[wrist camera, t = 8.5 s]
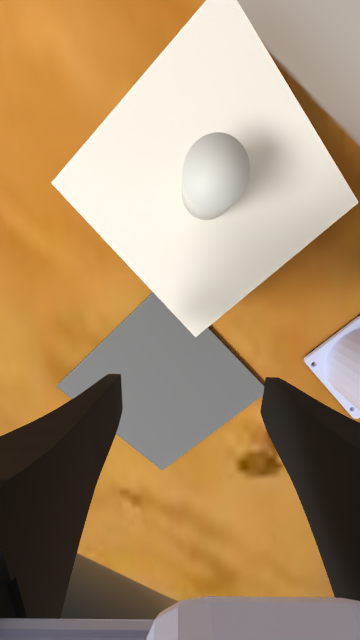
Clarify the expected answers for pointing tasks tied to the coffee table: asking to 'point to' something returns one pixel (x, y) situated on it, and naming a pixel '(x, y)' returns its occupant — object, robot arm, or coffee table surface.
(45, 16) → the coffee table surface
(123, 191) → the lid
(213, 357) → the mat
